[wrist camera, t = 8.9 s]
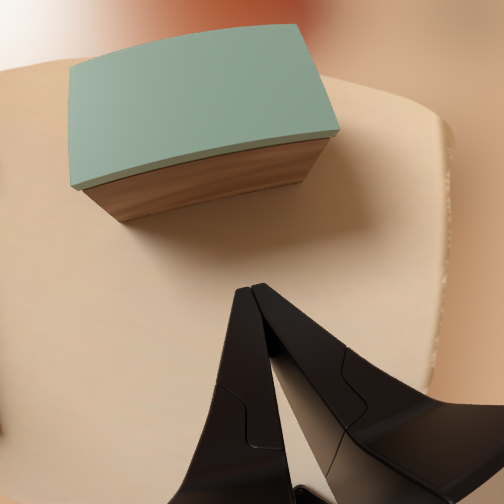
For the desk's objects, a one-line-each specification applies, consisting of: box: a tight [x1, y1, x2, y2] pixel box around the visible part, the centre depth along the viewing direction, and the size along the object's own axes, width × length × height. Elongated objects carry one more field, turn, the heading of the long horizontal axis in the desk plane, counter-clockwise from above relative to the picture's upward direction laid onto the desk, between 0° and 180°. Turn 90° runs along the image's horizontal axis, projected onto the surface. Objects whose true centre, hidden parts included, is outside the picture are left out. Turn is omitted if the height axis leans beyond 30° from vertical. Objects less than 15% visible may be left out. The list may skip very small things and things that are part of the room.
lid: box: [68, 24, 340, 191], centre depth 16 cm, size 8×14×1 cm, turn 104°
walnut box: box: [83, 137, 330, 222], centre depth 20 cm, size 8×14×7 cm, turn 104°
